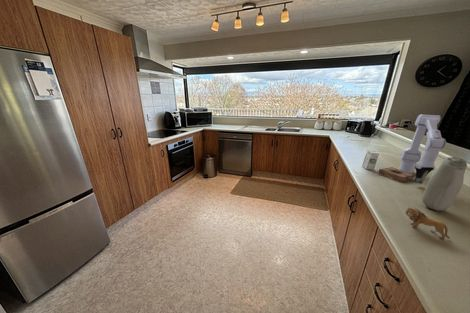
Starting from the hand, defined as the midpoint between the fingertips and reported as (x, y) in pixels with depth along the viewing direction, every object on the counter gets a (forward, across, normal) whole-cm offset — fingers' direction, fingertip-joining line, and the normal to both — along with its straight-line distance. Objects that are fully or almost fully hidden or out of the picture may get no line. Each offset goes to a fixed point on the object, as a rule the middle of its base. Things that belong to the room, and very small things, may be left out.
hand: (420, 177), depth 109 cm
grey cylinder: (+3, 0, 0) cm, 3 cm away
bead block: (+6, +3, +14) cm, 16 cm away
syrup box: (+6, -2, +30) cm, 31 cm away
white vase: (+6, -22, -17) cm, 29 cm away
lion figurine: (+6, -49, -25) cm, 55 cm away
